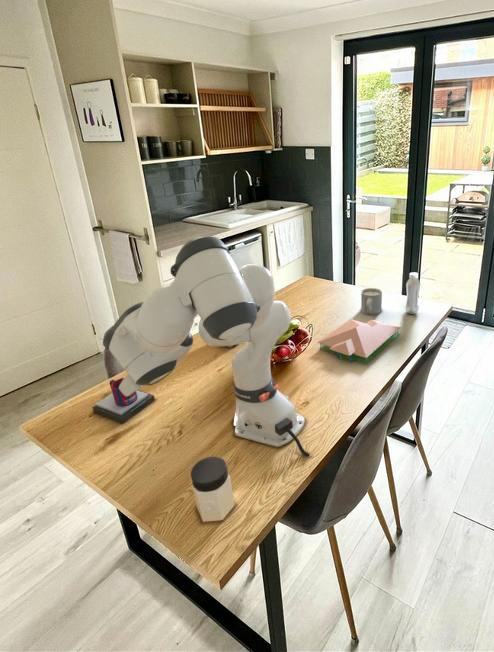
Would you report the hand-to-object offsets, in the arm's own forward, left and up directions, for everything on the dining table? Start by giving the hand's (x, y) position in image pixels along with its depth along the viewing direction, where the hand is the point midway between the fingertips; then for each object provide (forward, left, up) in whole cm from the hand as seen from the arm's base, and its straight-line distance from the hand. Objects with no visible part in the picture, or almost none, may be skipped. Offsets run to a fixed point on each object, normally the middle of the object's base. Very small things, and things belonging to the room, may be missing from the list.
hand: (143, 382), depth 124 cm
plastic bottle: (-45, -114, -12) cm, 123 cm away
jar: (-44, +14, -13) cm, 48 cm away
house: (-36, -75, -12) cm, 84 cm away
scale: (+12, +2, -12) cm, 17 cm away
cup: (+12, +2, -10) cm, 15 cm away
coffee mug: (-26, -106, -12) cm, 110 cm away
